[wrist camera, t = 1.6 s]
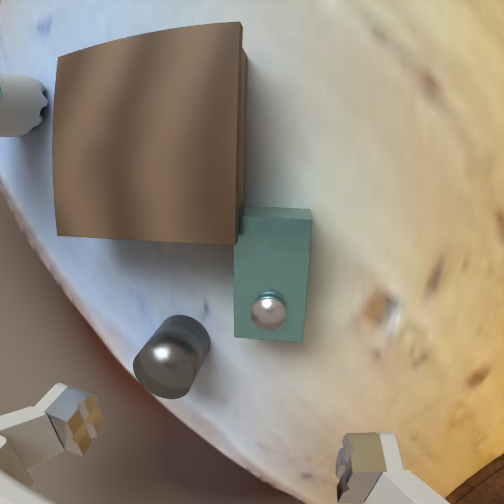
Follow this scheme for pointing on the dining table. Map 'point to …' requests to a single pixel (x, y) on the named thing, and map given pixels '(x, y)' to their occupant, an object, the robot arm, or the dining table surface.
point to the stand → (152, 137)
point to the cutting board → (482, 486)
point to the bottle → (20, 104)
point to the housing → (271, 273)
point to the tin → (172, 357)
